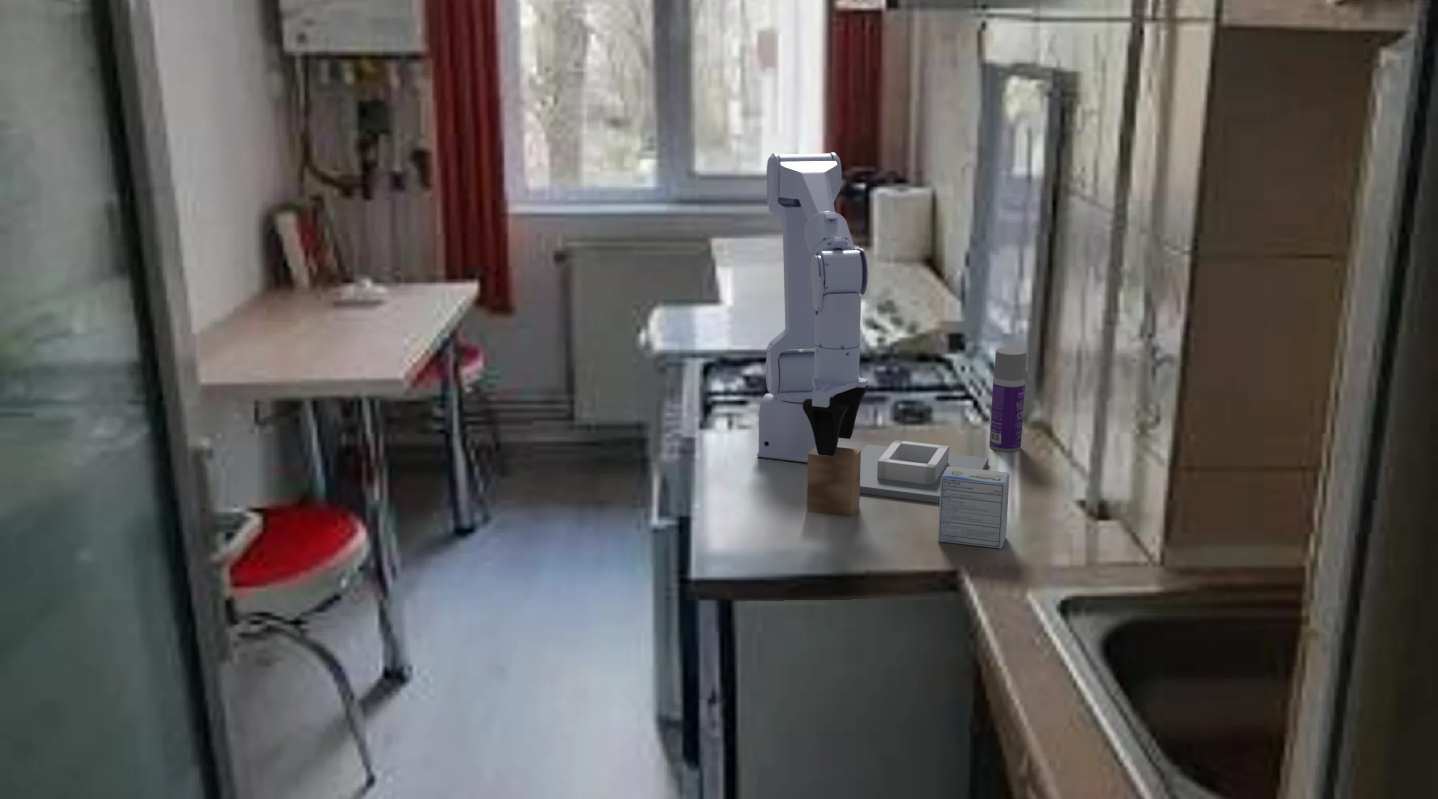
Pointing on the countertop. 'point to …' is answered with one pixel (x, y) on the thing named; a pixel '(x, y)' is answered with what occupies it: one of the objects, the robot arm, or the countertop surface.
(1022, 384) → the container
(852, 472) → the walnut peg
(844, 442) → the countertop surface
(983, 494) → the medicine box
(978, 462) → the socket plate
